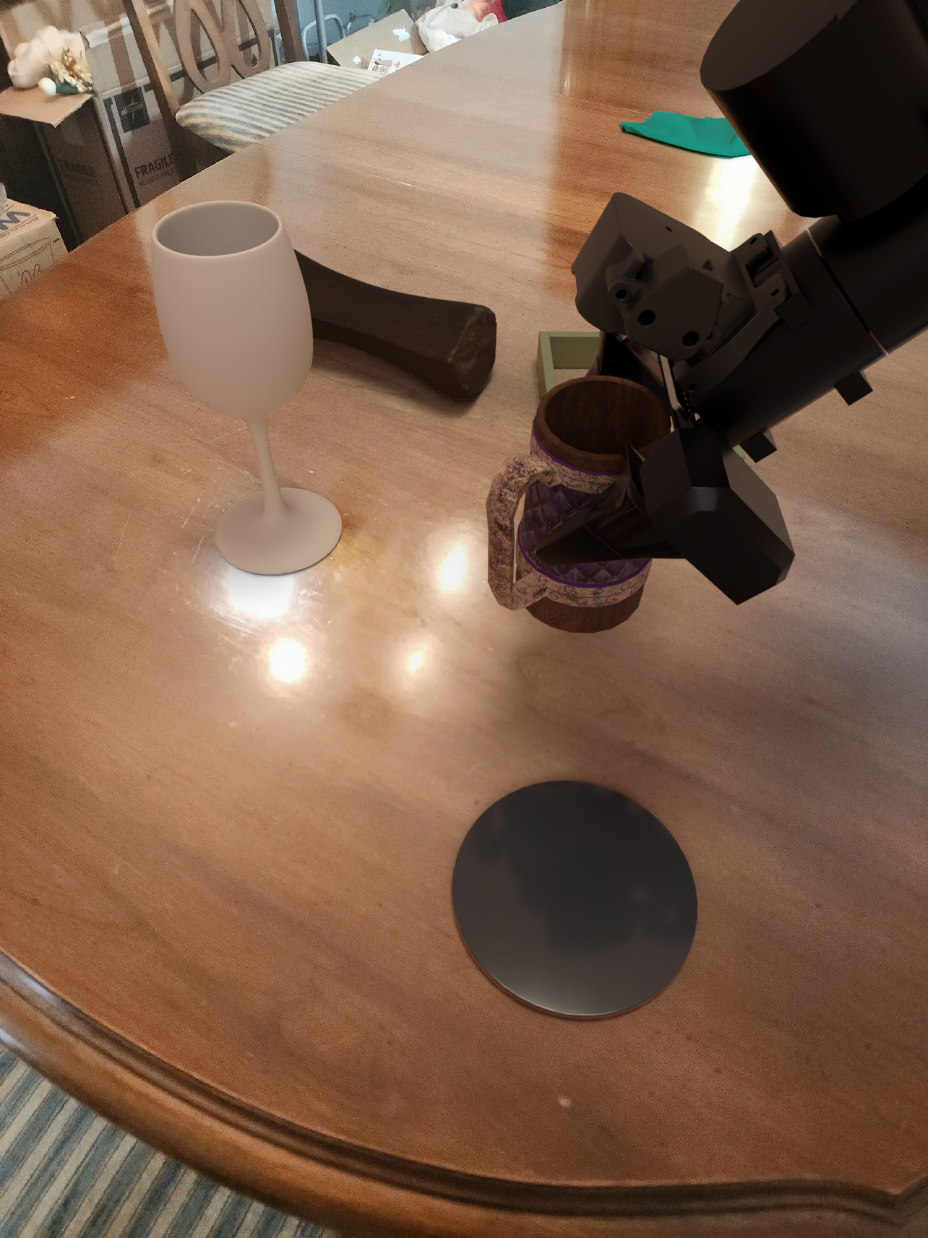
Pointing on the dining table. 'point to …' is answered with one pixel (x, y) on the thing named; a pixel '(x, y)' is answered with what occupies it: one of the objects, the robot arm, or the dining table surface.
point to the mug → (570, 502)
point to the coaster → (574, 900)
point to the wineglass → (243, 361)
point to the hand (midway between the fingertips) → (538, 506)
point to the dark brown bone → (404, 329)
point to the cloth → (690, 133)
